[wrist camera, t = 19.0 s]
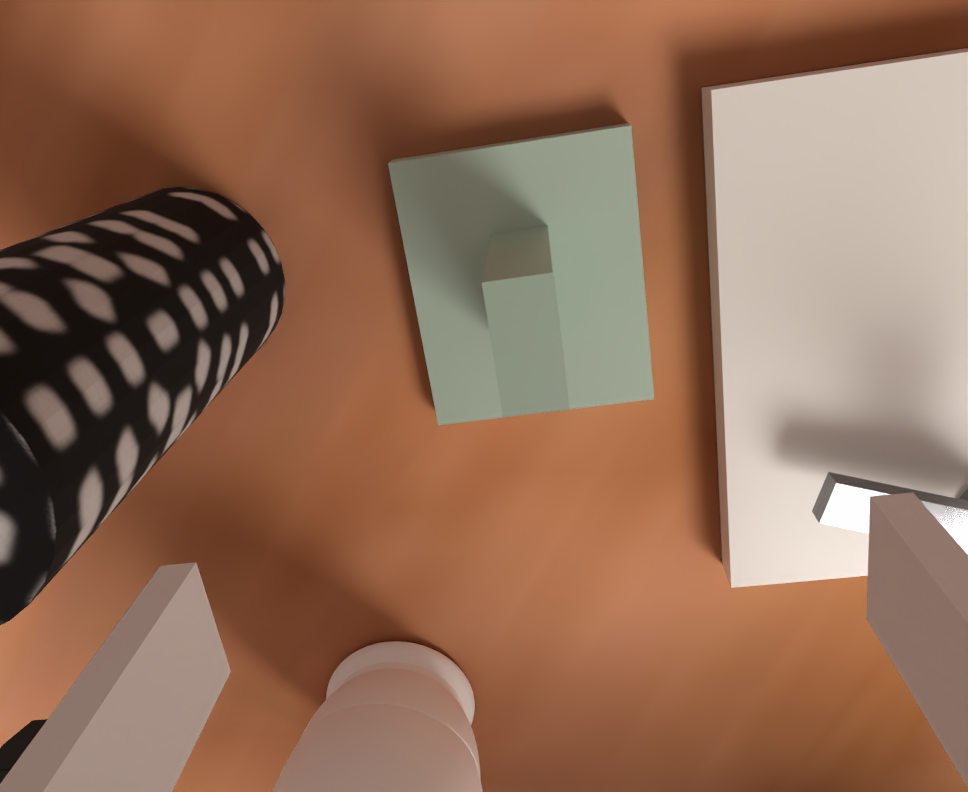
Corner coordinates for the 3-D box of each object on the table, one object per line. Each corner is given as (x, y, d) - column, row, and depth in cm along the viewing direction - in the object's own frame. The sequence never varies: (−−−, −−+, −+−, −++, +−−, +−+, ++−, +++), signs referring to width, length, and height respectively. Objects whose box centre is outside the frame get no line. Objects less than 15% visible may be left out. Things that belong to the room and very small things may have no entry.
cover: (649, 386, 39) (684, 483, 30) (441, 412, 40) (417, 513, 32) (627, 122, 35) (660, 147, 26) (393, 158, 36) (349, 194, 27)
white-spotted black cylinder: (227, 156, 36) (-92, 270, 17) (317, 327, 39) (123, 582, 20) (68, 230, 37) (-379, 407, 19) (165, 389, 40) (-143, 678, 22)
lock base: (1142, 525, 40) (1175, 552, 38) (722, 564, 42) (732, 591, 40) (1233, 8, 32) (1283, 5, 30) (701, 87, 34) (713, 90, 32)
